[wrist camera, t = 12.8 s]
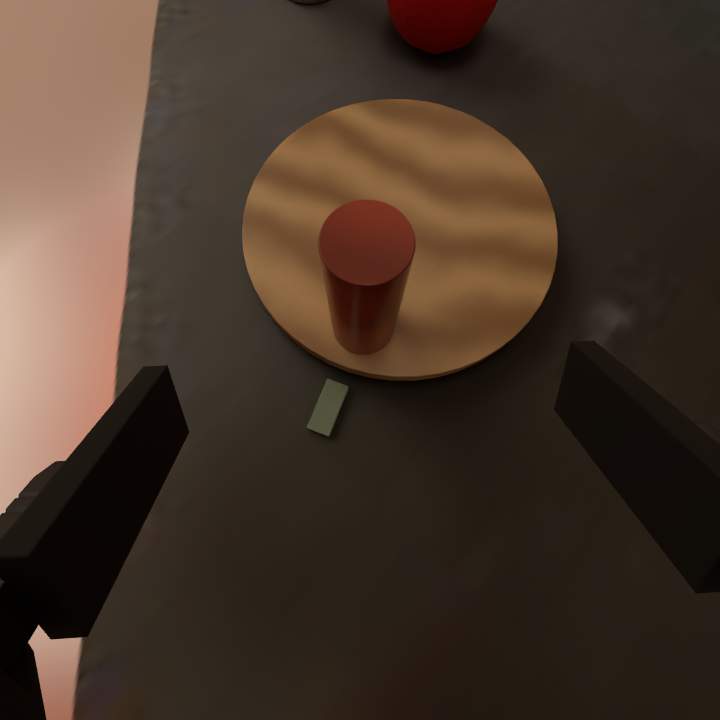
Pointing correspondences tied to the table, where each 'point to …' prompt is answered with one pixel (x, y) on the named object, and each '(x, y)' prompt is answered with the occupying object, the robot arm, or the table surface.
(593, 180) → the table surface
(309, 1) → the beer glass
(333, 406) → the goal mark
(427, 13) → the fruit
